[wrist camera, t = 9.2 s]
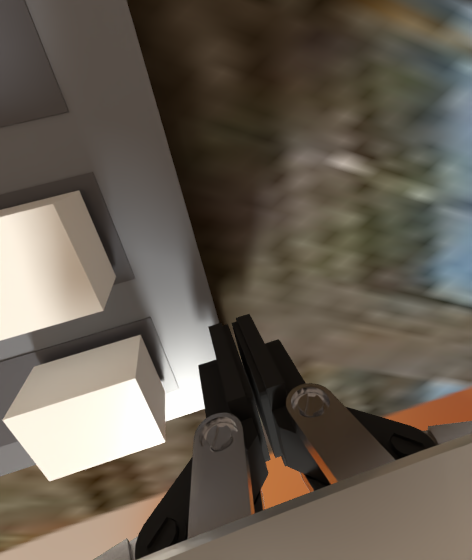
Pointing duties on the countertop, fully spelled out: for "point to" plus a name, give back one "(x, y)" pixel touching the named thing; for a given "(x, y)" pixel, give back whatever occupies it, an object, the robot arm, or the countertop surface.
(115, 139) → the switch panel
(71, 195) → the tab
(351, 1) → the countertop surface
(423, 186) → the countertop surface
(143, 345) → the tab
